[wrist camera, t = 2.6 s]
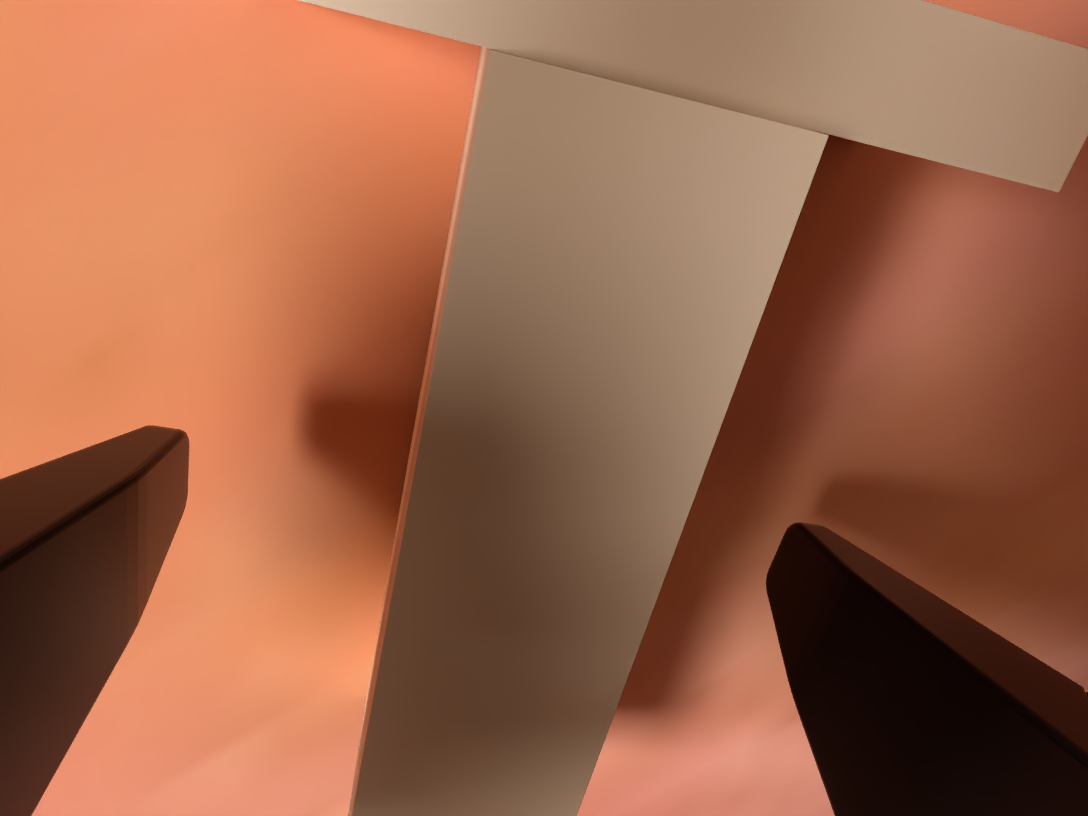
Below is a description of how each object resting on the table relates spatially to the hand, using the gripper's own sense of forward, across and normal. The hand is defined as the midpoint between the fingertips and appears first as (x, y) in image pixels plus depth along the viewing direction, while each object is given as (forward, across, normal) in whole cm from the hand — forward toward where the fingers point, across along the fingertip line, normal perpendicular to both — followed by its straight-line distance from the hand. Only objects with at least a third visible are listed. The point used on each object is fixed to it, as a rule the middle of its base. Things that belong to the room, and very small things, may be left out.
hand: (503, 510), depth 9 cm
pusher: (+2, 0, -1) cm, 2 cm away
